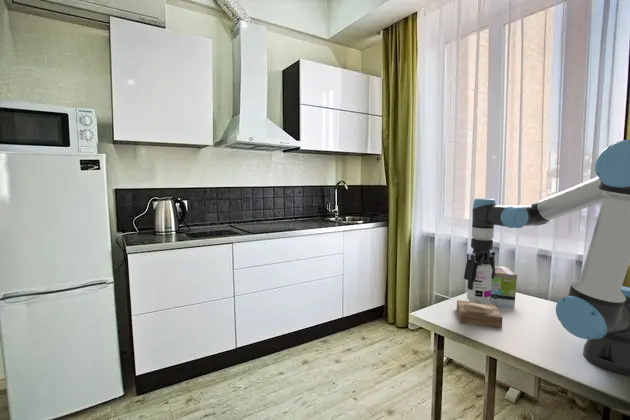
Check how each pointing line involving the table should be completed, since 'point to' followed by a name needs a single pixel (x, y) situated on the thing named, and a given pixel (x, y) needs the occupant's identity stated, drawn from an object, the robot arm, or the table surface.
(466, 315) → the walnut base
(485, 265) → the supplement can
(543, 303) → the table surface
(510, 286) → the tea box
